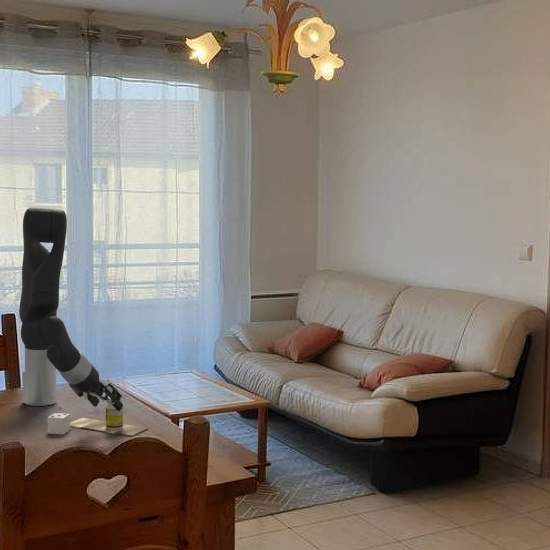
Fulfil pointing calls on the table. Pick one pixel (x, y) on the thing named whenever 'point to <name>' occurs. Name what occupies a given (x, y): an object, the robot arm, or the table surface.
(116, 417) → the supplement bottle
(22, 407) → the table surface
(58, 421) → the die
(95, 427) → the track
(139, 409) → the table surface
